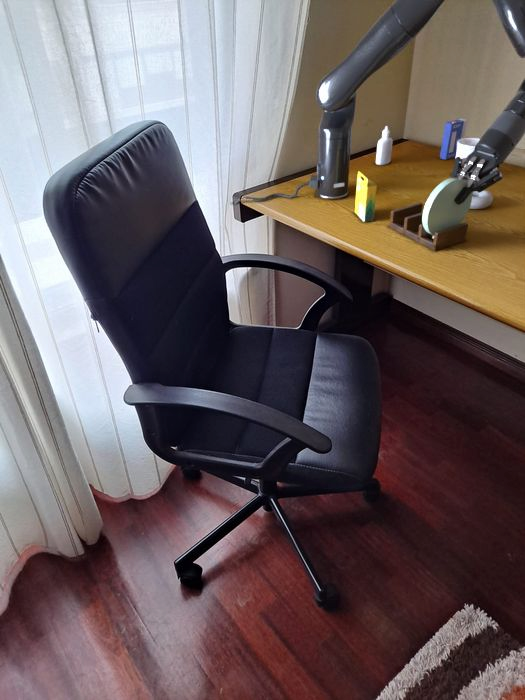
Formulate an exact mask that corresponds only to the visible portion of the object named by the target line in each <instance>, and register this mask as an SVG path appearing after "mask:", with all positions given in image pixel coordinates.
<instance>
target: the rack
mask: <svg viewBox="0 0 525 700" xmlns="http://www.w3.org/2000/svg"><path fill="white" fill-rule="evenodd" d="M423 205H424V204H423V202H420V201H419V202H417V203H414V204H410V205H407V206H404V207H400V208H396V209H393V210H391V211H390V219H389V228H390V229H392V230H394V231H396V232H398V233H400V234H402V235H403V236H406V237H407V238H409V239H412V240H413V241H415V242H417V243H419V244H421V245H422V246H425V247H427V248H429V249H431V250H432V251H434V252H436V251H438V250H441V249H444V248H447V247H451V246H453V245H456V244H458V243H461V242H464V241H465V240H466V236H467V231H468V227H469V223H468V222H466V221H465V222H462V223H461V224H459V225H456V226H453V227H450V228H447V229H444V230H441V231H438V232H435V235H434V239H432V236H433V235H431V234H429V233H427V232H426V231H425V229H424V227H423V223H422V215H423Z"/></svg>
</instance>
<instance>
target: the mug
mask: <svg viewBox="0 0 525 700" xmlns="http://www.w3.org/2000/svg"><path fill="white" fill-rule="evenodd" d="M480 139H481V138H479V137H464V138H463V139H459V140H458V142H457V152H456V157H454V160H455V159H456V158H457V157H460V158H461V159H462V158H467V156H468V155H469V154H471V153H472V152H473V151H474V149H475V146H476V144H477V143H478V141H479V140H480ZM465 166H466V165H465ZM465 166H464V167H465ZM463 169H464V168H463Z"/></svg>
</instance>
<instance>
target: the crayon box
mask: <svg viewBox="0 0 525 700" xmlns="http://www.w3.org/2000/svg"><path fill="white" fill-rule="evenodd" d="M356 177H357V178H356V188H355V189H356V190H355V205H354V213H355V214H356V215H357V216H358V217H359V218H360V219H361V221H362V222H363V223H366V222H372V221H374V218H375V210H376V209H375V208H376V199H377V188H378V185H377V184H376V183H374V182H373V181H372V180H371V179H370V178H368V177H367V176H365V175H364V174H363V173H362V172H361V171H360V170H358V172H357V176H356Z"/></svg>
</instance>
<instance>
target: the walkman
mask: <svg viewBox="0 0 525 700" xmlns="http://www.w3.org/2000/svg"><path fill="white" fill-rule="evenodd" d="M444 124H445V125H444V130H443V135H442V140H441V148H440V154H439V159H442V160H450V159H453V158H454V159H455V158H456V152H457V142H458V140H459V139H463V138H465V136H466V129H467V126H468V125H467V124H468V119H465V118H458V119H455V120H449V121H446V122H445V123H444Z"/></svg>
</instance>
